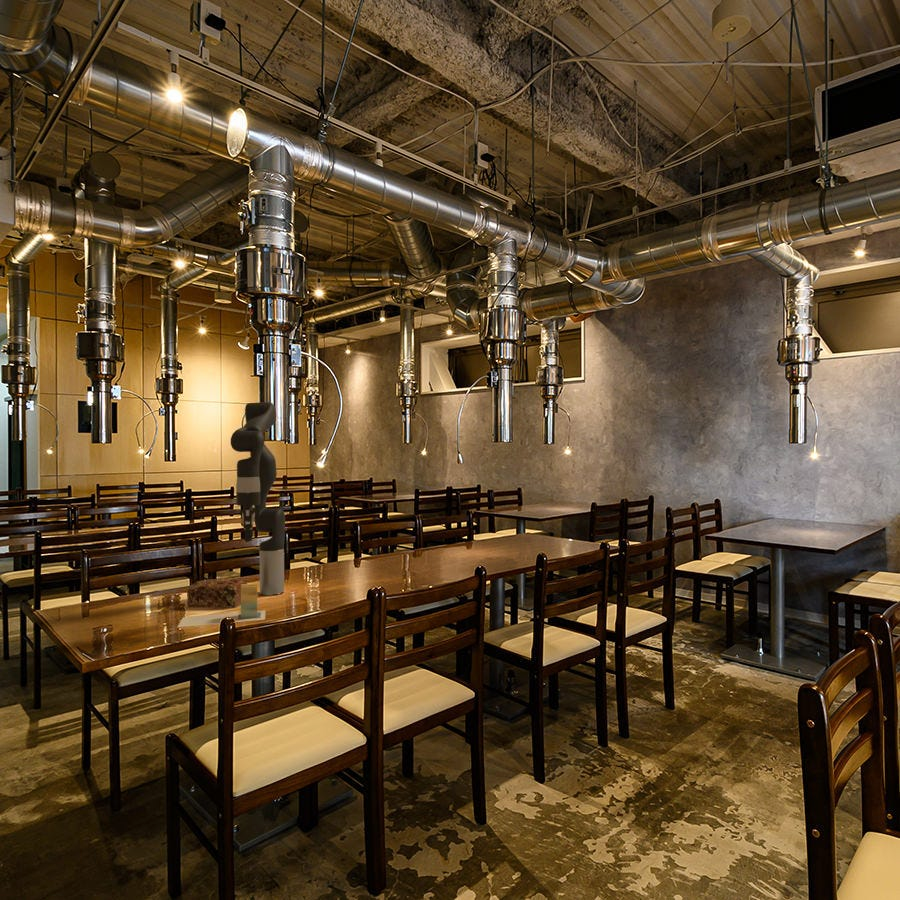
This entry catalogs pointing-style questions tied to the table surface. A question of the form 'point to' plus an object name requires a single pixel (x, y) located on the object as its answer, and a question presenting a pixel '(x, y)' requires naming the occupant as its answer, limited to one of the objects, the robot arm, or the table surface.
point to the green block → (249, 609)
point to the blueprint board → (217, 619)
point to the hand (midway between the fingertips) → (248, 539)
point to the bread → (216, 593)
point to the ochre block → (248, 593)
